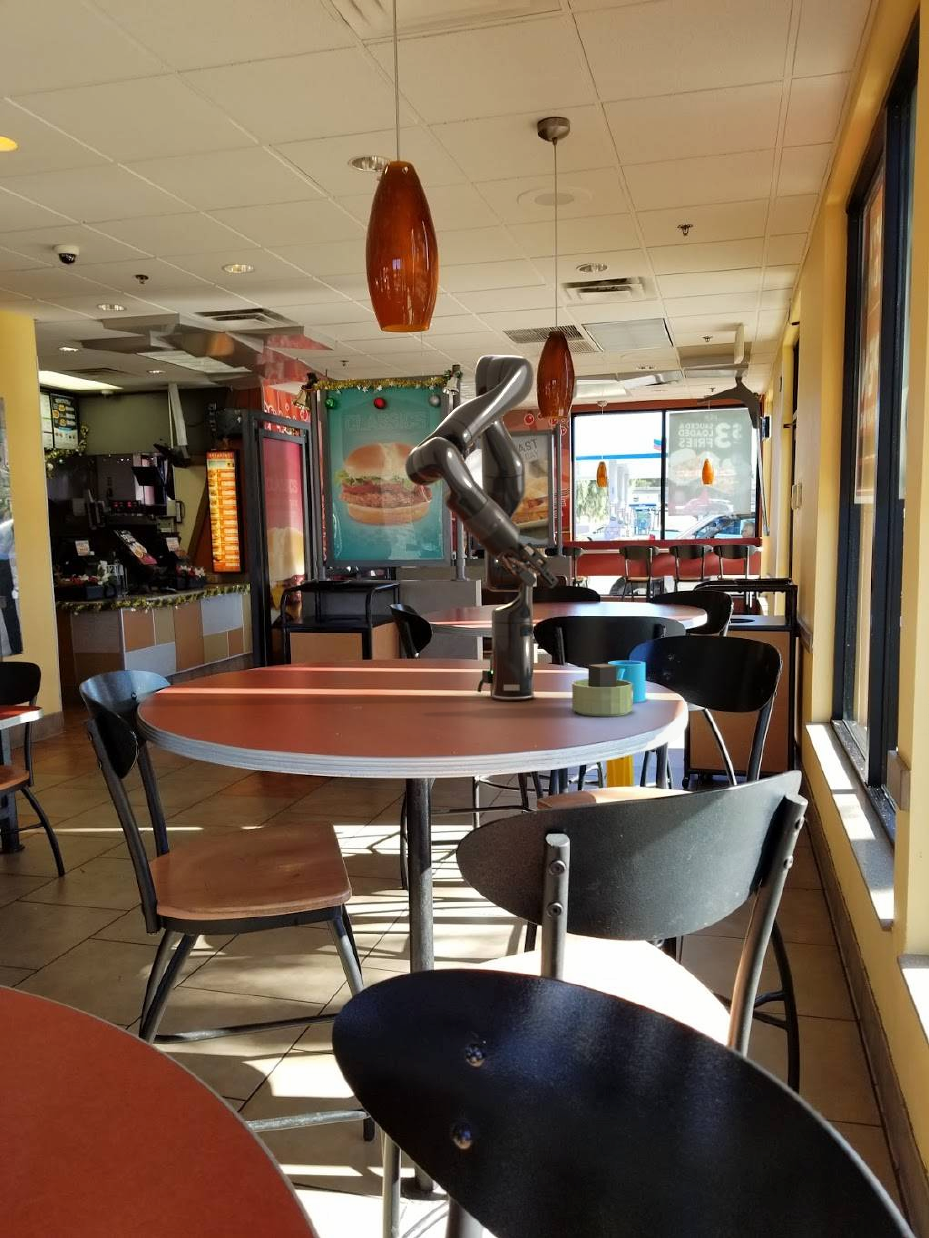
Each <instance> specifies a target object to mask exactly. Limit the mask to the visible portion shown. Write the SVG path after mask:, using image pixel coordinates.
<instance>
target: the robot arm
mask: <svg viewBox="0 0 929 1238" xmlns="http://www.w3.org/2000/svg"><path fill="white" fill-rule="evenodd" d="M534 375H535V374H534V368H533V366H532V363H531V362H530V361H529V359H528V358H525V357H523V356H519V355H502V354H501V355H500V354H499V355H497V354H485V355H483V356H481V357H480V358H479V359H478V361H477V363H476V366H475V371H474V389H475V390H474V391H475V398H472V399H470V400H468V401H466V402H464V403H463V404H461V405H459V406H457V407H456V408H455V409H453V410H452V412H450V413H449V414H448V416H446V418H445V419H444V420H443V421H441V423H440V424H439V425H438V427H437V428H436V429H435V430H434V431H433V432H432V433H431V434H430V435H428V436H427V437H426V438H425V439H423V441H421V442H420V443H419V444H417V446H416V447H414V448H413V449H412V450H411V451H410V452H409V453H408V455H407V457H406V458H405V459H406V460H405V465H404V466H405V467H404V468H405V469H404V470H405V474H406V476H407V478H408V479H409V481H411V482H412V483H413V484H415V485H417V486H421V487H426V486H431V485H433V484H434V483H435V484H436V483H437V482H438V481H440V480H442V479H443V480H444V481H445V482H446V484H447V486H448V487H447V489H446V490H445V491H444V493H443V496H442V501H443V503H444V505H445V506H446V507H447V508H448V509H449V511H451V513H452V514H453V515H454V516H455V517H456V518H457V519H458V520H459V522H460V523H461V524H462V525H463V527H464V528H465V529H466V531H467V532H468V533H469V534H470V535H471V537H473V539H474V540H475V541H476V542H477V543H478V544H479V545H480V546H481V547H482V548H483V549H484V562H483V563H484V565H483V566H484V581H485V585H486V588H487V590H489V591H491V592H501V593H502V592H518V595H517V596H516V598H515V599H514V600H512V601H510V602H509V603H507V604H504V605H501V606H498V607H496V608H494V609H492V612H491V655H490V656H489V669H482V670H481V675H482V676H481V677H482V678H481V679H480V681H479V682H478V686H477V693H482V689H483V685H484V684H487V685H489V686H490V687H489V693H490V697H491V698H492V699H494V700H497V701H507V702H519V701H528V700H532V699H534V698H535V693H534V622H533V621H534V613H533V612H534V611H533V596H534V595H533V594H534V593H533V591H534V590H533V589H534V585H535V583H537V577H538V578H539V579H540V580H541V581H542V583H543V584H545V585H546V587H547V588H548V589H554V588H555V587H556V585H557V584H558V583H559V579H558V578H557V577H556V576H555V575H554V574H553V573H552V572H551V570H550V569H549V566H550V565H551V563H550V561H549V560H548V559H547V558H546V557H545V556H544V555H543V554H542V553H541V552H540V551H539V550H538V549H537V548H536V547H535V546H534V544H533V543H531V542H529V541H528V542H527V543H526V544H525V543H523V542H522V541H520V540H519V536H520V533H521V530H520V527H518V525H517V524H516V522H514V521H513V519H512V518H513V516H514V515H515V514H516V512H518V511H517V510H518V509H519V507H521V504H522V502H523V500H524V498H525V495H526V466H525V465H526V464H525V461H524V458H523V455H522V453H521V452H520V450H519V448H518V446H517V445H516V443H515V441H514V439H513V438H512V437H511V435H510V433H509V431H508V429H507V426H506V425H505V422H504V419H503V416H505V415H506V414H508V413H509V412H510V411H512V410H513V409H515V408H516V407H517V406H519V405H521V403H523V402H524V401H525V400H526V399H527V398H528V396H529V395H530V394H531V392H532V389H533V387H534ZM479 438H480V444H481V445H480V446H481V447H480V448H481V482H482V483H481V484H482V485H481V486H482V487H481V486H480V485H479V483H478V482H476V481H475V479H474V477H473V475H472V472H471V471H470V469H469V467H468V465H467V463H466V462H465V461H466V460H465V459H464V457H463V456H462V455H464V454H465V453H466V452H468V450H469V449H470V448H471V447H472V446H473V445H474V443H475V442H476V441H477V440H478V439H479ZM535 575H536V576H537V577H535Z"/></svg>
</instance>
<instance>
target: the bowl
mask: <svg viewBox="0 0 929 1238" xmlns="http://www.w3.org/2000/svg"><path fill="white" fill-rule="evenodd" d="M571 697H572V698H571V706H572V707H571V709H572V710H573V711H574V712H576V713H577V714H579V715H583V716H587V717H588V716H589V717H604V718H605V717H619V716H624V715H627V714H628V713H629V712H632V711H633V710H634V703H633V683H632V682H630V681H626V680H619V679H617V687H590V686H588V678H585V679H578V680H574V681H572V682H571Z"/></svg>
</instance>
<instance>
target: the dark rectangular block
mask: <svg viewBox="0 0 929 1238" xmlns="http://www.w3.org/2000/svg"><path fill="white" fill-rule="evenodd" d="M587 666H588V667H587V671H588V673H587V675H588V678H587V679H588V686H590V687H617V666H613V665H608V663H597V664H596V663H595V664H588V665H587Z"/></svg>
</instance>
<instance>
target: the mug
mask: <svg viewBox="0 0 929 1238" xmlns="http://www.w3.org/2000/svg"><path fill="white" fill-rule="evenodd" d="M607 664H608V665H613V666H617V679H619V680H626V681H630V682H632V683H633V704H634V703H642V702H643V703H644V702H645V701H646V662H645V661H642V660H641V661H639V660H612V661H608V662H607Z"/></svg>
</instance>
